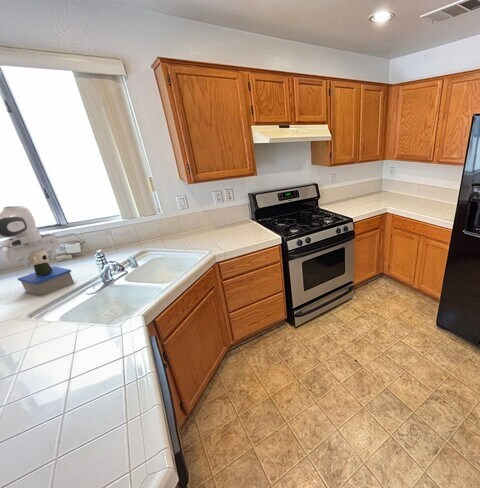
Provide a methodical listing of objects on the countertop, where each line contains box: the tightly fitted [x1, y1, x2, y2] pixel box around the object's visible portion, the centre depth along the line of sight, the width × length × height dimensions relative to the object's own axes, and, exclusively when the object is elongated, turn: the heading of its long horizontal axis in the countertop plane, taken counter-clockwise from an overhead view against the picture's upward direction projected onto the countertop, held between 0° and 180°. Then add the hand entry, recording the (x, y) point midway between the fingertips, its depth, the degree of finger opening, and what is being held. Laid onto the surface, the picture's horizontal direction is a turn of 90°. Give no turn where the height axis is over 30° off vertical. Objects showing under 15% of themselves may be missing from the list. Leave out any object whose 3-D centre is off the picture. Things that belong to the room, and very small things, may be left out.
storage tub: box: [17, 266, 75, 297], centre depth 140 cm, size 15×15×8 cm
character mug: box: [26, 250, 53, 275], centre depth 136 cm, size 11×7×13 cm, turn 34°
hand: (39, 262), depth 136 cm, fingers open, 8 cm apart
